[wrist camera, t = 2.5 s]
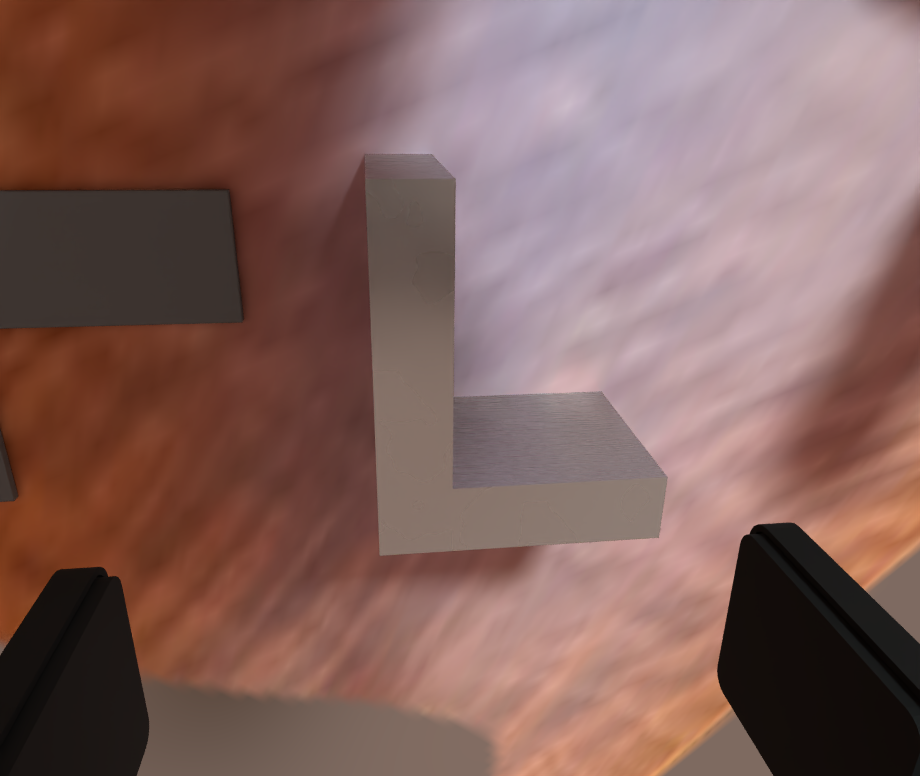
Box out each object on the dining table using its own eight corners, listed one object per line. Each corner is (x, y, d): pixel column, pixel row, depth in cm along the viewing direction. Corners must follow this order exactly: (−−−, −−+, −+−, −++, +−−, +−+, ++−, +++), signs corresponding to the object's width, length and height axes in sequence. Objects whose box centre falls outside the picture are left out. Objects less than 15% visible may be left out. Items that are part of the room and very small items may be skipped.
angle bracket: (364, 154, 21) (364, 179, 16) (624, 154, 22) (711, 178, 17) (376, 452, 25) (379, 555, 20) (596, 441, 26) (658, 537, 20)
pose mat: (229, 189, 21) (227, 191, 21) (262, 483, 25) (260, 487, 25) (-222, 190, 20) (-230, 192, 19) (-112, 502, 23) (-117, 507, 23)
